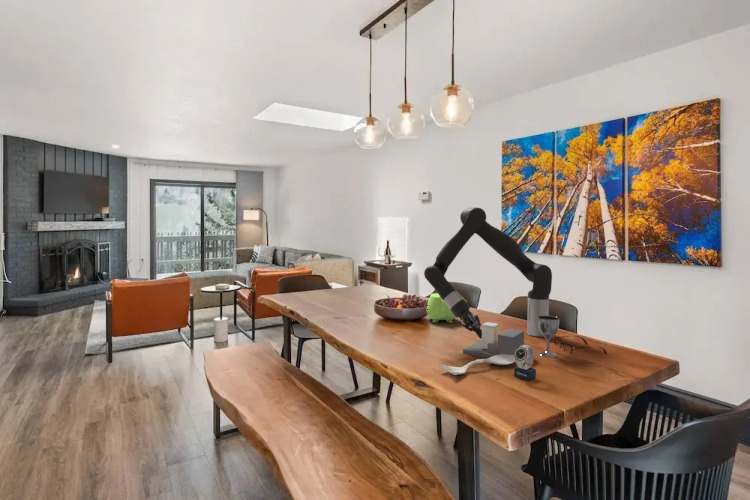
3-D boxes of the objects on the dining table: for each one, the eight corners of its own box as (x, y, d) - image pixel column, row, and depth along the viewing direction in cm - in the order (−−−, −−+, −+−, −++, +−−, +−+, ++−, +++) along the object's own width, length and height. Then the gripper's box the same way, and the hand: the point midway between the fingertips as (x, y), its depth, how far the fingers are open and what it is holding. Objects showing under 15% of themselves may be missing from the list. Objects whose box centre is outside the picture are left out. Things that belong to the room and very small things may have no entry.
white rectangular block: (481, 348, 172) (481, 324, 172) (486, 345, 176) (486, 322, 176) (493, 350, 169) (493, 326, 168) (498, 347, 173) (499, 323, 173)
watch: (510, 377, 145) (511, 346, 144) (524, 372, 150) (524, 341, 149) (525, 382, 141) (526, 350, 140) (538, 377, 145) (539, 345, 145)
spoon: (437, 373, 151) (437, 363, 151) (504, 357, 165) (504, 348, 165) (453, 381, 143) (453, 371, 143) (522, 364, 157) (522, 355, 157)
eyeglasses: (551, 344, 185) (551, 335, 185) (585, 343, 186) (585, 334, 186) (572, 356, 169) (572, 346, 168) (609, 355, 170) (610, 345, 170)
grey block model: (462, 352, 172) (463, 329, 172) (478, 344, 184) (479, 322, 183) (511, 363, 160) (511, 338, 159) (525, 353, 172) (525, 330, 171)
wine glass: (548, 358, 164) (549, 320, 163) (532, 353, 171) (533, 316, 170) (562, 355, 168) (563, 318, 167) (546, 350, 175) (547, 314, 174)
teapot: (470, 325, 218) (471, 294, 217) (428, 325, 218) (429, 294, 217) (461, 314, 243) (461, 287, 242) (424, 314, 243) (424, 287, 242)
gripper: (454, 301, 174) (482, 335, 167) (469, 296, 185) (495, 328, 178) (443, 312, 178) (469, 346, 171) (458, 306, 188) (483, 338, 181)
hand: (483, 337), depth 175 cm, fingers closed
